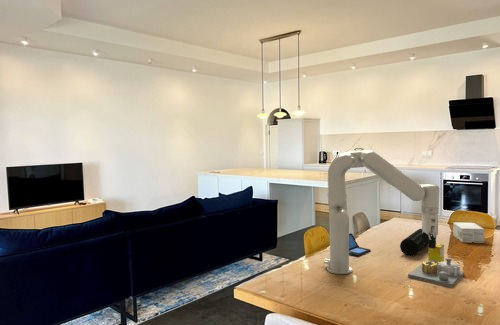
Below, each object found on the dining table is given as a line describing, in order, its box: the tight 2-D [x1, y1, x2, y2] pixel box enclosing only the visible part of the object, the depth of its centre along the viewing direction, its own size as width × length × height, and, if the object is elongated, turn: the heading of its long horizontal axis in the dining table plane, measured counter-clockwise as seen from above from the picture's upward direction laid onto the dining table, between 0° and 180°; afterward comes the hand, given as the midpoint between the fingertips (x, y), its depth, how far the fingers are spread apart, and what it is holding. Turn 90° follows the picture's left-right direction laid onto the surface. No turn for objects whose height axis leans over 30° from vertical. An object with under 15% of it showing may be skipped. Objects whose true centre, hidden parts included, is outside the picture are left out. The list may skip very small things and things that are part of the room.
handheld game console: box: [349, 232, 371, 258], centre depth 217 cm, size 16×13×9 cm
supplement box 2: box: [452, 221, 485, 244], centre depth 239 cm, size 17×13×9 cm
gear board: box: [407, 257, 465, 288], centre depth 176 cm, size 19×20×8 cm
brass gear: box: [421, 260, 437, 274], centre depth 178 cm, size 7×7×4 cm
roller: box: [399, 228, 428, 257], centre depth 221 cm, size 38×10×10 cm, turn 140°
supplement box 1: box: [427, 242, 445, 266], centre depth 191 cm, size 6×6×11 cm
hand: (428, 245), depth 178 cm, fingers open, 9 cm apart
